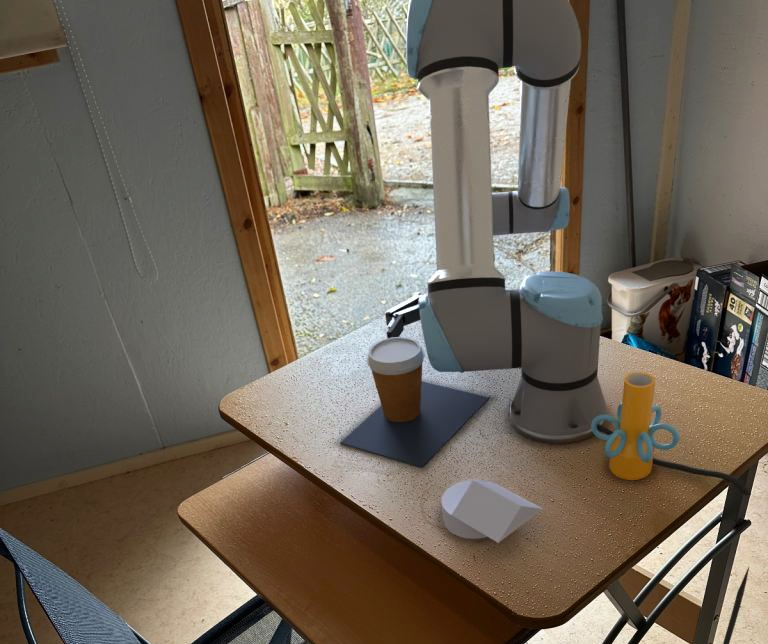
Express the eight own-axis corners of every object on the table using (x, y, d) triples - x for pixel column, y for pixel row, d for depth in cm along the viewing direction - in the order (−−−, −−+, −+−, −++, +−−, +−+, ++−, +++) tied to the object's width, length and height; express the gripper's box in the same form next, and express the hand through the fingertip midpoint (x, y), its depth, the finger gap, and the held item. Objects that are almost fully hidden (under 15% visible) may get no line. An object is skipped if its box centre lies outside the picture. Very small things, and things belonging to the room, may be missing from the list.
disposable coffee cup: (421, 430, 128) (415, 365, 120) (367, 425, 130) (357, 362, 123) (435, 399, 134) (430, 336, 127) (383, 396, 137) (375, 334, 130)
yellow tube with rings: (582, 451, 119) (587, 364, 109) (648, 440, 119) (659, 352, 109) (609, 499, 109) (617, 409, 100) (681, 487, 109) (696, 396, 100)
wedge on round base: (542, 527, 106) (473, 489, 114) (543, 489, 102) (471, 452, 110) (498, 561, 102) (430, 519, 110) (497, 523, 98) (426, 482, 106)
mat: (489, 398, 133) (489, 397, 133) (422, 468, 120) (422, 467, 120) (411, 379, 141) (411, 378, 141) (340, 443, 128) (339, 442, 128)
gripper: (525, 309, 144) (500, 365, 129) (398, 304, 152) (361, 357, 137) (525, 270, 140) (499, 324, 125) (394, 267, 148) (355, 318, 132)
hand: (427, 341), depth 131 cm, fingers open, 13 cm apart
